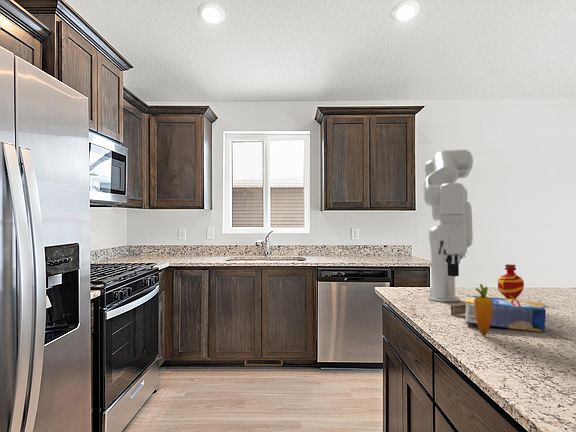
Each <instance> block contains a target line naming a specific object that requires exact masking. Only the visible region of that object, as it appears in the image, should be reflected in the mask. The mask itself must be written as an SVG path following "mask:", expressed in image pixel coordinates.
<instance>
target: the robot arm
mask: <svg viewBox="0 0 576 432" xmlns="http://www.w3.org/2000/svg"><path fill="white" fill-rule="evenodd" d="M472 155H473V154H472V153H471V152H470V151H469V150H468V149H452V150H451V149H450V150H449V149H447V150H441V151H438V152H437V153H436V154H435V155H434V156H433V159H430V160H428V161H427V162H425V164H424V165H425V166H424V172H425V177H426V179H425V180H424V183H423V199H424V203H425V204H426V205H427V206H429V207H431V216H432V219H433V221H434V222H437V223H440V224H438V225H435V226H433V227H431V228H430V229H429V231H428V241H429V245H430V246H429V247H430V255H431V256H430V257H431V259H430V261H431V263H430V264H431V265H430V266H431V267H430V268H431V287H428V288H427V289H426V290H425V292H427V293H429V295H428V296H427V299H428V300H430V301H435V302H442V303H443V302H445V303H450V302H451V303H453V302H459V301H460V297H459V296H458V295H456V277H459V275H460V269H459V267H460V266H459V265H460V264H461V260H462V259H464V258H465V257H466V253H468V248H470V247H472V245H473V242H474V241H473V237H474V236H473V233H474V231H473V213H472V212H473V211H472V205H471V203H470V202H469V201H468V196H469V195H468V190H467V188H466V187H465V186H464V184H462V183H460V182H457V180H458V179H464V178H465V179H466V178H467V177H468V176H469V174H470V173H471V171H472V169H473V166H474V159H473V156H472Z"/></svg>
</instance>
